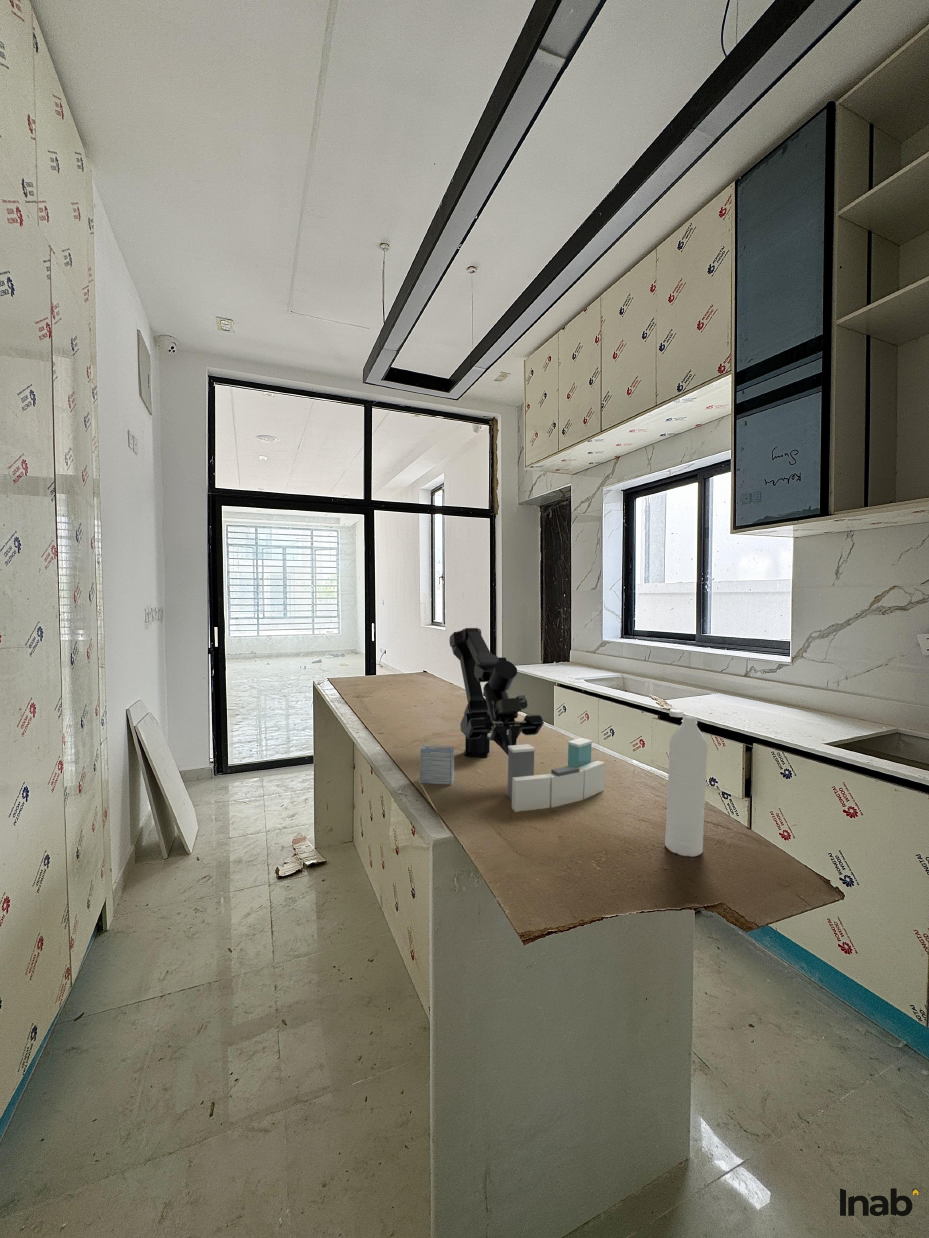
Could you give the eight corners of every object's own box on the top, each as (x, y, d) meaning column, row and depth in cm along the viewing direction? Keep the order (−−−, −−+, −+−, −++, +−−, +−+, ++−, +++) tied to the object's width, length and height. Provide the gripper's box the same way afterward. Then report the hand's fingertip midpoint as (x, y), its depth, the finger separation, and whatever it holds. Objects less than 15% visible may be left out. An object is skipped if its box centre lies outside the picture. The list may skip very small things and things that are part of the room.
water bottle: (710, 856, 95) (717, 720, 94) (677, 858, 94) (683, 721, 92) (682, 833, 104) (688, 708, 102) (651, 835, 103) (657, 709, 101)
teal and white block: (566, 789, 124) (567, 741, 123) (579, 784, 128) (580, 737, 127) (577, 793, 122) (579, 744, 121) (590, 788, 125) (592, 740, 125)
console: (521, 816, 110) (521, 780, 109) (509, 809, 113) (510, 774, 113) (610, 794, 122) (611, 761, 122) (597, 788, 126) (599, 756, 125)
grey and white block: (506, 795, 120) (508, 745, 119) (527, 793, 122) (529, 744, 121) (512, 800, 117) (513, 749, 116) (533, 798, 119) (534, 748, 118)
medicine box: (454, 779, 130) (454, 745, 130) (451, 786, 126) (452, 750, 125) (422, 777, 131) (423, 743, 130) (419, 784, 127) (419, 749, 126)
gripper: (469, 685, 125) (483, 744, 115) (541, 682, 130) (560, 738, 120) (460, 710, 133) (472, 767, 123) (528, 706, 138) (545, 761, 128)
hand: (513, 758), depth 123 cm, fingers closed
